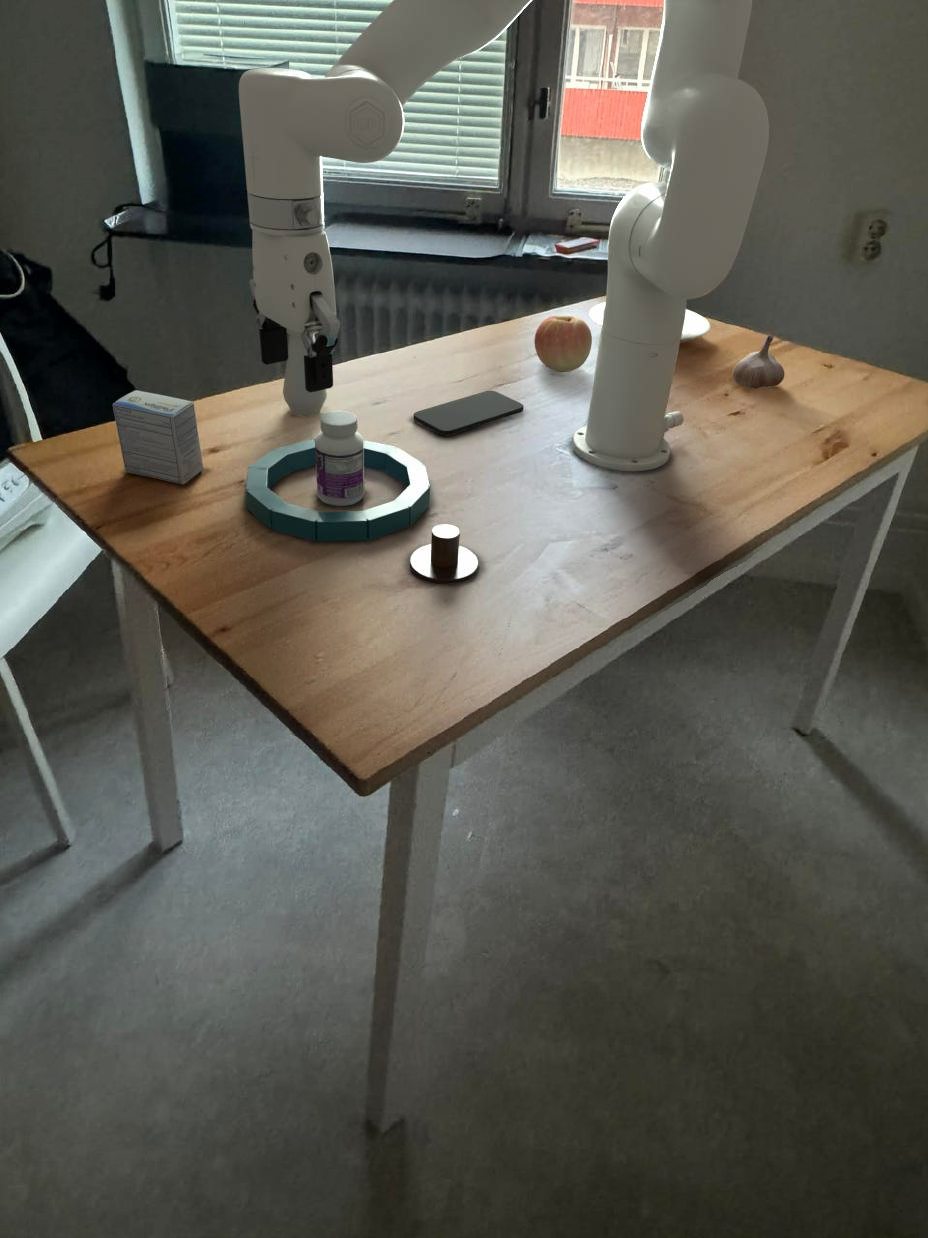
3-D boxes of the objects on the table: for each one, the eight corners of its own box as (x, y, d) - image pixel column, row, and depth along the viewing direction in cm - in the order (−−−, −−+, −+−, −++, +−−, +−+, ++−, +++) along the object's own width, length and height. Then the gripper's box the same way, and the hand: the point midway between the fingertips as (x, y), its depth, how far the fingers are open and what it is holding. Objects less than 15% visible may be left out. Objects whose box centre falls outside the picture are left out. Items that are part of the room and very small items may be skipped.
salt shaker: (318, 421, 117) (314, 323, 109) (277, 415, 118) (270, 317, 110) (332, 405, 122) (330, 309, 114) (293, 399, 123) (287, 304, 115)
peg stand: (449, 540, 95) (451, 507, 92) (492, 570, 90) (495, 536, 88) (396, 559, 91) (396, 525, 89) (437, 591, 87) (439, 557, 84)
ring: (364, 443, 113) (364, 425, 111) (462, 508, 100) (464, 489, 99) (217, 482, 102) (215, 463, 101) (307, 561, 90) (306, 541, 88)
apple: (551, 381, 134) (557, 328, 129) (521, 361, 140) (526, 310, 135) (598, 374, 137) (606, 323, 132) (567, 355, 143) (574, 305, 139)
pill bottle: (318, 484, 103) (314, 406, 97) (364, 485, 103) (363, 407, 98) (316, 507, 99) (312, 426, 93) (364, 508, 99) (363, 427, 93)
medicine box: (204, 470, 104) (195, 400, 99) (183, 486, 101) (172, 415, 96) (147, 457, 106) (135, 388, 101) (124, 473, 103) (110, 402, 97)
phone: (409, 413, 119) (491, 388, 127) (409, 419, 119) (490, 394, 128) (445, 432, 115) (527, 405, 123) (445, 438, 115) (526, 411, 123)
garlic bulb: (785, 384, 139) (800, 333, 134) (772, 398, 133) (786, 346, 129) (738, 372, 142) (751, 322, 137) (723, 386, 136) (736, 334, 132)
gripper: (365, 226, 87) (367, 393, 97) (277, 192, 97) (287, 346, 107) (297, 234, 83) (307, 408, 93) (213, 198, 93) (230, 357, 103)
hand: (296, 375), depth 100 cm, fingers open, 9 cm apart
